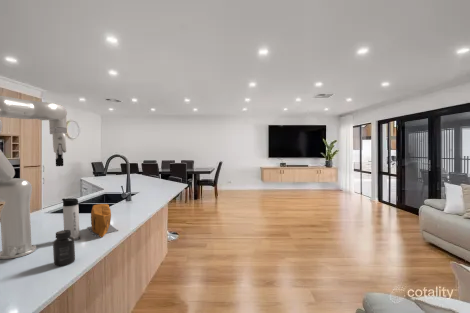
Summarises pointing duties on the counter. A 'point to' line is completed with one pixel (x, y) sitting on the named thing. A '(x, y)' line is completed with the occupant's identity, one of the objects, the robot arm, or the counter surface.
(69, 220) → the travel mug
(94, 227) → the coffee package
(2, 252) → the robot arm
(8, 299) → the counter surface
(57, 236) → the supplement bottle
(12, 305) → the counter surface
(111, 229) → the mat
